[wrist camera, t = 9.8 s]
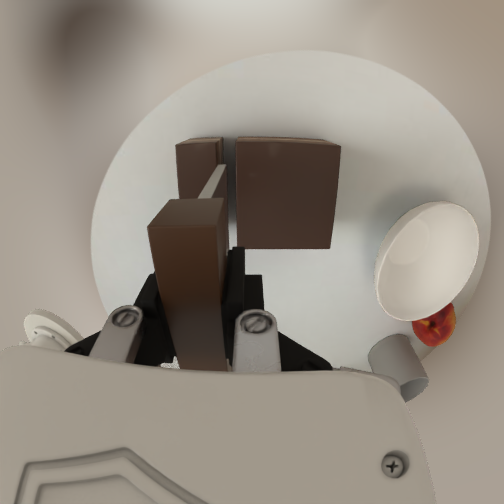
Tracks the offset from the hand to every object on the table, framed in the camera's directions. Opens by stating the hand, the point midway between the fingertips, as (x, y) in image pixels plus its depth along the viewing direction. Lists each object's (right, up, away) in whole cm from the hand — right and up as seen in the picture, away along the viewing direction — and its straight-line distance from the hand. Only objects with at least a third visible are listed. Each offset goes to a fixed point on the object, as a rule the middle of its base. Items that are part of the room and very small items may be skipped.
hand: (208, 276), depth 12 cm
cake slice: (-3, +9, +16) cm, 19 cm away
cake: (+5, +9, +16) cm, 19 cm away
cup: (+27, -17, +31) cm, 44 cm away
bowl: (+23, +3, +20) cm, 31 cm away
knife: (0, +4, +7) cm, 8 cm away
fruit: (+31, -8, +26) cm, 41 cm away
